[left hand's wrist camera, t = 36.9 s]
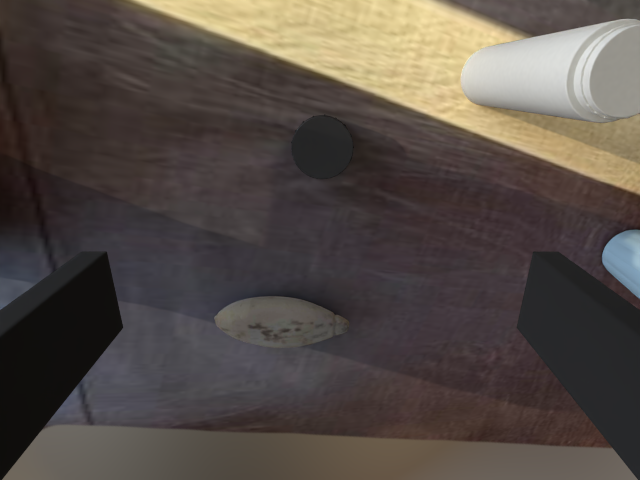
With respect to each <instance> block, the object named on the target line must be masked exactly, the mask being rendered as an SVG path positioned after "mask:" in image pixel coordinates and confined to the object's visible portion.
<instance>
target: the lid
mask: <svg viewBox="0 0 640 480" xmlns="http://www.w3.org/2000/svg"><path fill="white" fill-rule="evenodd" d="M295 132H296V133H295V135H294V137H293V141H292V142H291V143H292V155H293V158H294V161H295V163H296V165H297V166H298V167H299V169H300V170H301V171H302V172H304V173H305V174H306V175H308V176H310V177H313V178H317V179H327V178H332V177H334V176H336V175H338V174H340V173H341V172H342V171H343V170H344V169H345V168H346V167H347V166H348V164H349V162H350V160H351V159H352V154H353V148H354V147H353V141H352V138H351V137H352V136H351V134H350V133H349V131H348V130H347V128H346V125H345V124H343V123H342V122H340V121H339V120H337V118H333V117H330V116H325V115H319V116H313V117H311V118H309V119H307V120H306V121H303V122H302V124H301V125H300V126H299V128H298V129H297V130H296V131H295Z"/></svg>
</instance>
